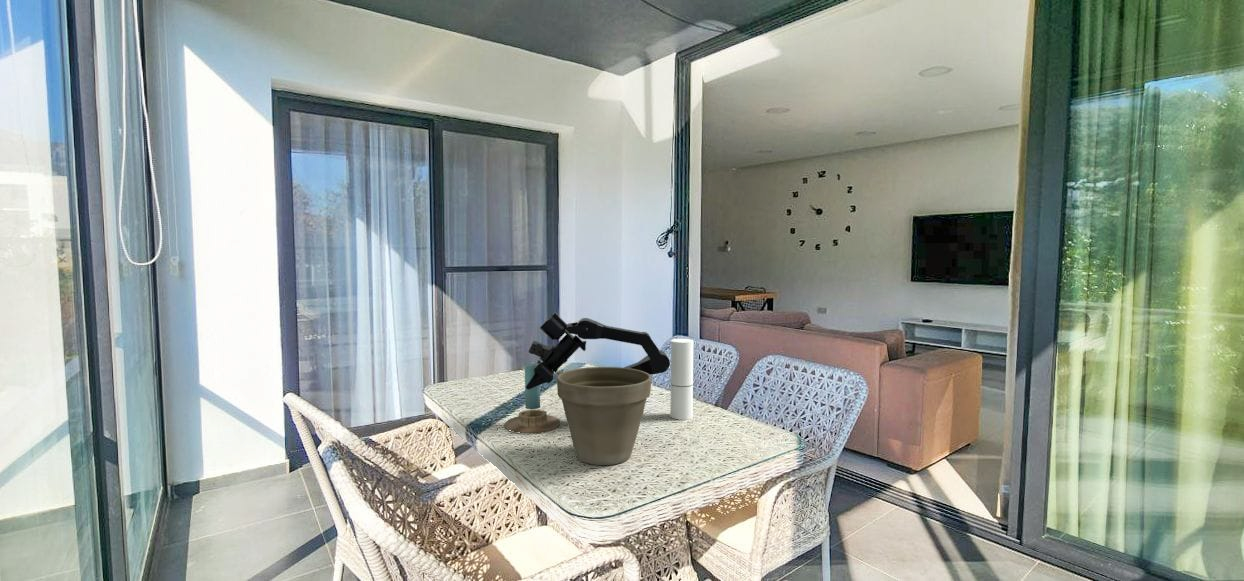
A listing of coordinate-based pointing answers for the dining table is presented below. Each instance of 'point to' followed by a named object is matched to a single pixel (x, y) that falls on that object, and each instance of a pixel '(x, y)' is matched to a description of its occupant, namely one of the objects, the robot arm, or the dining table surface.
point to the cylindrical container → (681, 379)
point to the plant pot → (603, 411)
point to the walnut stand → (532, 422)
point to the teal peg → (534, 393)
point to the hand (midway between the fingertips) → (527, 386)
